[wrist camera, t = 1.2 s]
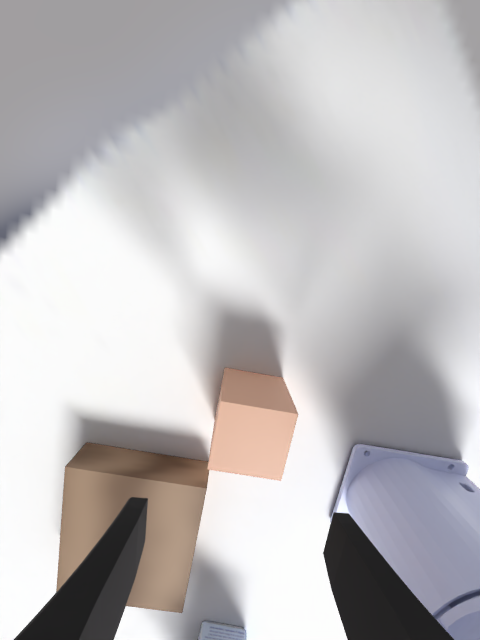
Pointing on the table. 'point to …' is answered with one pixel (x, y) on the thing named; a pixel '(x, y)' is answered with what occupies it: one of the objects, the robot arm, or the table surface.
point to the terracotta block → (252, 425)
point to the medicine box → (221, 632)
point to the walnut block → (162, 516)
